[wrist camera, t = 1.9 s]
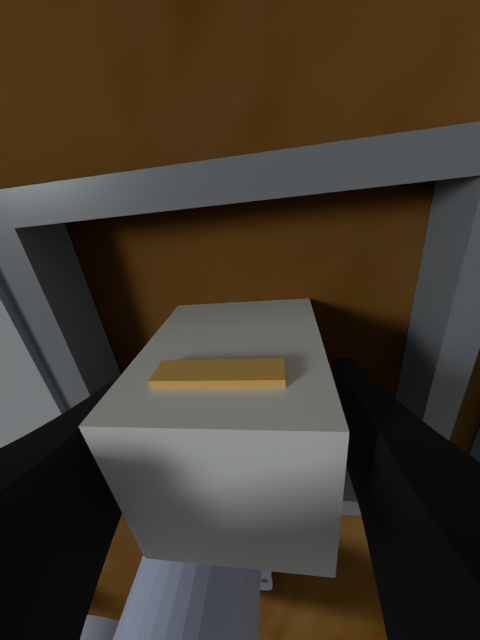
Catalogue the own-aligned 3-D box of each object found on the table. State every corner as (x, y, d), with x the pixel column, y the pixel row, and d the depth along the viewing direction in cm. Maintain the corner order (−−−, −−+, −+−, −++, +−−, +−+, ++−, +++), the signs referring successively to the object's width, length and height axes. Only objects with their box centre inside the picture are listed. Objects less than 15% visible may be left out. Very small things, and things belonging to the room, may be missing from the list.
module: (308, 402, 12) (335, 577, 7) (200, 402, 13) (145, 558, 7) (309, 292, 10) (350, 423, 4) (177, 300, 10) (74, 418, 5)
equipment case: (416, 475, 13) (439, 520, 11) (-69, 454, 17) (-108, 484, 16) (512, 126, 7) (594, 105, 5) (-267, 232, 11) (-366, 241, 10)
